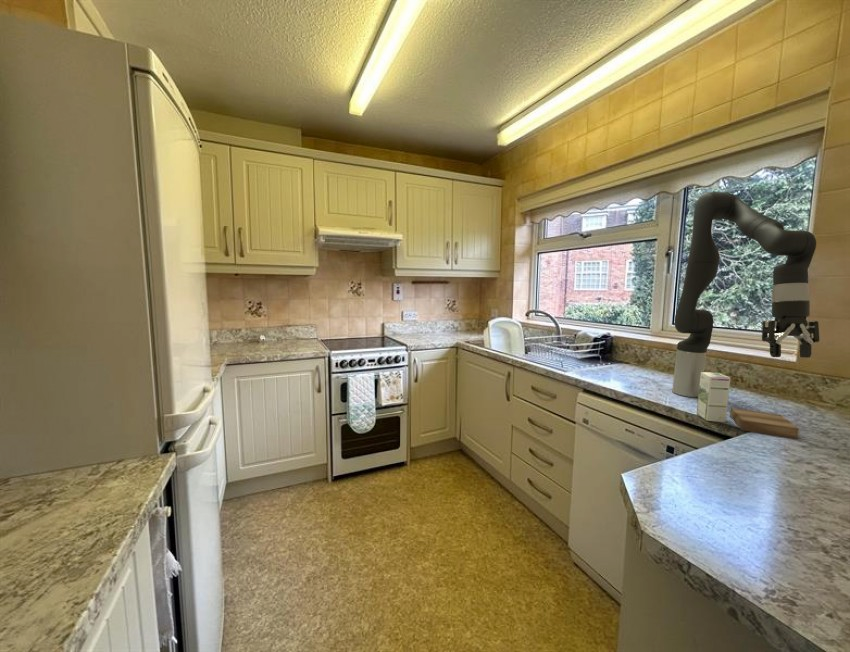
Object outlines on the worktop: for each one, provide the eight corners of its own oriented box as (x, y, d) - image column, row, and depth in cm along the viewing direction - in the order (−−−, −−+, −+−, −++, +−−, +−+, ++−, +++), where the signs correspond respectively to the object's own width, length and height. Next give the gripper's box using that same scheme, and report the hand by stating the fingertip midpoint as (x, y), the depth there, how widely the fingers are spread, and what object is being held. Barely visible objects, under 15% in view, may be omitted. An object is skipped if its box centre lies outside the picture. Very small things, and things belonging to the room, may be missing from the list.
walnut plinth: (729, 416, 115) (730, 407, 115) (779, 424, 110) (780, 414, 109) (741, 430, 105) (743, 420, 104) (797, 438, 99) (798, 428, 99)
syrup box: (726, 422, 110) (732, 377, 108) (705, 420, 111) (710, 375, 110) (715, 416, 116) (720, 372, 114) (695, 414, 117) (700, 371, 115)
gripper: (800, 302, 105) (800, 356, 105) (753, 301, 105) (753, 356, 104) (829, 299, 97) (830, 358, 97) (779, 298, 97) (779, 357, 97)
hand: (790, 357), depth 101 cm, fingers open, 8 cm apart
